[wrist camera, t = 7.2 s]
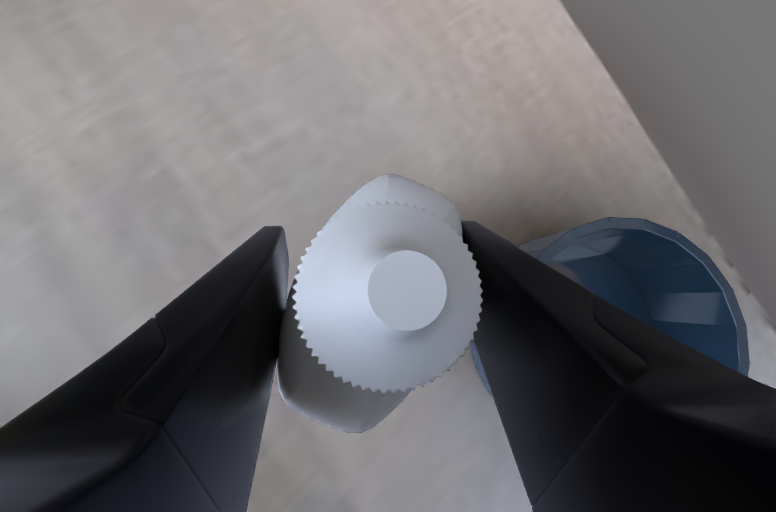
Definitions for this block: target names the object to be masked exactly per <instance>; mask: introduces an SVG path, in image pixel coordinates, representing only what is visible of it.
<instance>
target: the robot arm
mask: <svg viewBox="0 0 776 512" xmlns="http://www.w3.org/2000/svg"><path fill="white" fill-rule="evenodd" d="M461 225H462V235H463V243H465V244H467V245H468V251H469V252H471V253H473V255H472V259H473V260H474V261H476V262H477V263H476V267H475V268H476V269H477V270H479V271H480V272H479V275H478V277H479V278H480V280H481V281H482V282H481V284H480V287H481V289H482V290H483V291H482V293H481V295H480V296H481V298H482V300H483V301H482V303H481V304H480V307H481V309H482V311H481V312H480V313H479V314H478V315H479V317H480V321H479V322H478V323H476V325H477V329H478V330H476V331H475V332H473V337H474V339H473V341H474V344H475V347H476V350H477V352H478V355H479V358H480V361H481V364H482V367H483V370H484V372H485V375H486V378H487V381H488V384H489V387H490V389H491V392H492V395H493V398H494V401H495V404H496V407H497V409H498V412H499V415H500V418H501V421H502V424H503V426H504V429H505V432H506V435H507V438H508V441H509V444H510V446H511V449H512V452H513V455H514V458H515V461H516V463H517V466H518V469H519V472H520V475H521V478H522V481H523V483H524V486H525V489H526V492H527V495H528V498H529V501H530V503H531V505H532V506H533V507H532V510H533V512H776V389H775V388H772V387H770V386H767V385H765V384H762V383H760V382H757V381H755V380H753V379H751V378H749V377H747V376H745V375H743V374H741V373H739V372H737V371H735V370H733V369H731V368H729V367H727V366H726V365H724V364H722V363H720V362H718V361H716V360H714V359H712V358H710V357H708V356H706V355H705V354H703V353H701V352H699V351H697V350H695V349H693V348H691V347H689V346H687V345H686V344H684V343H682V342H680V341H678V340H676V339H674V338H672V337H670V336H668V335H667V334H665V333H663V332H661V331H659V330H657V329H655V328H654V327H652V326H650V325H648V324H646V323H644V322H642V321H641V320H639V319H637V318H635V317H633V316H632V315H630V314H628V313H627V312H625V311H623V310H621V309H620V308H618V307H616V306H615V305H613V304H611V303H610V302H608V301H606V300H605V299H603V298H601V297H600V296H598V295H594V294H593V292H591V291H590V290H588V289H586V288H585V287H583V286H581V285H580V284H578V283H576V282H575V281H573V280H572V279H570V278H568V277H567V276H565V275H563V274H562V273H560V272H558V271H557V270H555V269H553V268H552V267H550V266H548V265H547V264H545V263H543V262H542V261H540V260H538V259H537V258H535V257H533V256H532V255H530V254H529V253H527V252H525V251H524V250H522V249H520V248H519V247H517V246H515V245H514V244H512V243H510V242H509V241H507V240H505V239H504V238H502V237H500V236H499V235H497V234H495V233H494V232H492V231H490V230H489V229H487V228H486V227H484V226H482V225H481V224H479V223H477V222H476V221H461ZM288 269H289V257H288V250H287V244H286V238H285V232H284V229H283V227H282V226H265V227H263V228H262V229H260V230H259V231H258V232H257V233H256V234H254V235H253V236H252V237H251V238H249V239H248V240H247V241H246V242H244V243H243V244H242V245H241V246H240V247H238V248H237V249H236V250H235V251H233V252H232V253H231V254H230V255H228V256H227V257H226V258H225V259H224V260H222V261H221V262H220V263H219V264H217V265H216V266H215V267H214V268H212V269H211V270H210V271H209V272H208V273H206V274H205V275H204V276H203V277H201V278H200V279H199V280H198V281H196V282H195V283H194V284H193V285H192V286H190V287H189V288H188V289H187V290H185V291H184V292H183V293H182V294H181V295H179V296H178V297H177V298H176V299H174V300H173V301H172V302H171V303H169V304H168V305H167V306H166V307H165V308H163V309H162V310H161V311H160V312H158V313H157V314H156V315H155V318H156V319H155V318H151V319H150V320H148V321H147V322H146V323H145V324H143V325H142V326H141V327H140V328H138V329H137V330H136V331H135V332H133V333H132V334H131V335H130V336H128V337H127V338H126V339H124V340H123V341H122V342H121V343H119V344H118V345H117V346H115V347H114V348H113V349H112V350H110V351H109V352H108V353H106V354H105V355H103V356H102V357H101V358H99V359H98V360H97V361H95V362H94V363H92V364H91V365H90V366H88V367H87V368H85V369H84V370H83V371H81V372H80V373H79V374H77V375H76V376H74V377H73V378H71V379H70V380H69V381H67V382H66V383H64V384H63V385H61V386H60V387H59V388H57V389H56V390H54V391H53V392H51V393H50V394H48V395H47V396H46V397H44V398H43V399H41V400H40V401H38V402H37V403H36V404H34V405H33V406H31V407H30V408H28V409H27V410H26V411H24V412H23V413H21V414H20V415H18V416H17V417H16V418H14V419H13V420H11V421H10V422H8V423H7V424H5V425H4V426H3V427H1V428H0V512H246V511H247V506H248V501H249V496H250V491H251V486H252V481H253V476H254V471H255V466H256V461H257V457H258V452H259V447H260V442H261V437H262V432H263V427H264V422H265V417H266V412H267V407H268V402H269V397H270V392H271V387H272V383H273V378H274V373H275V368H276V363H277V358H278V347H279V337H280V330H281V324H282V319H283V314H284V310H285V306H286V300H287V284H288Z"/></svg>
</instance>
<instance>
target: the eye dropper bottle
mask: <svg viewBox="0 0 776 512" xmlns="http://www.w3.org/2000/svg"><path fill="white" fill-rule="evenodd" d="M311 244H312V245H311V246H309V247H307V248H305V250H306V255H304V256H302V257H301V260H302V263H301V264H300V265H299V266H297V268H298V272H297V274H296V276H294V277H295V279H294V281H293V284H292V287H291V290H290V292H289V295H288V299H287V302H286V306H285V310H284V314H283V319H282V324H281V330H280V337H279V347H278V359H277V377H278V388H279V391H280V394H281V396H282V399H283V401H284V402H285V403H286V404H288V405H289V406H290V407H291V408H292V409H293V410H295V411H297V412H299V413H300V414H302V415H304V416H306V417H308V418H311V419H313V420H315V421H317V422H320V423H322V424H325V425H327V426H330V427H332V428H335V429H338V430H341V431H344V432H347V433H362V432H364V431H366V430H369V429H371V428H373V427H374V426H376V425H377V424H378V423H379V422H381V421H382V420H383V419H384V418H386V417H387V416H388V415H389V414H390V413H391V412H392V411H393V410H394V409H395V408H396V407H397V406H398V405H399V404H400V403H401V402H402V401H403V399H404V398H405V397H406V396H407V395H408V394H409V392H410V391H411V390H412V389H413V390H414V389H415V388H416V387H417V385H418V384H419V385H421V386H423V387H424V385H425V384H426V382H427V381H430V382H433V381H434V379H435V377H436V376H439V377H442V374H443V372H444V371H450V367H451V364H457V360H458V357H461V356H463V354H464V349H467V348H469V341H470V340H473V339H474V337H473V332H475V331H476V330H478V329H477V325H476V323H478V322H479V321H480V317H479V315H478V314H479V313H480V312H481V311H482V309H481V307H480V304H481V303H482V301H483V300H482V298H481V296H480V295H481V293H482V291H483V290H482V289H481V287H480V284H481V282H482V281H481V280H480V278H479V277H478V275H479V272H480V271H479V270H477V269H476V268H475V267H476V263H477V262H476V261H474V260H473V259H472V255H473V253H471V252H469V251H468V245H467V244H465V243H463V235H462V225H461V218H460V215H459V212H458V210H457V208H456V205H455V204H454V203H453V202H452V201H451V200H450V199H448V198H447V197H446V196H444V195H442V194H441V193H439V192H437V191H435V190H433V189H431V188H429V187H427V186H425V185H422V184H420V183H418V182H416V181H413V180H411V179H408V178H406V177H403V176H400V175H393V174H385V175H382V176H379V177H376V178H374V179H373V180H371V181H370V182H368V183H367V184H365V185H364V186H363V187H362V188H360V189H359V190H358V191H357V192H356V193H354V194H353V195H352V196H351V197H350V198H349V199H348V200H347V201H346V202H345V203H344V204H343V205H342V206H341V207H340V208H339V209H338V210H337V211H336V212H335V213H334V214H333V216H332V217H331V218H330V219H329V220H328V222H327V223H326V224H325V225H324V227H323V228H322V230H321V231H319V232H317V237H316V238H315V239H311Z"/></svg>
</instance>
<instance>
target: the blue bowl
mask: <svg viewBox="0 0 776 512" xmlns="http://www.w3.org/2000/svg"><path fill="white" fill-rule="evenodd" d="M518 247H519V248H520V249H522V250H524V251H525V252H527V253H529V254H530V255H532V256H533V257H535V258H537V259H538V260H540V261H542V262H543V263H545V264H547V265H548V266H550V267H552V268H553V269H555V270H557V271H558V272H560V273H562V274H563V275H565V276H567V277H568V278H570V279H572V280H573V281H575V282H576V283H578V284H580V285H581V286H583V287H585V288H586V289H588V290H590V291H591V292H593V294H594V295H598V296H600V297H601V298H603V299H605V300H606V301H608V302H610V303H611V304H613V305H615V306H616V307H618V308H620V309H621V310H623V311H625V312H627V313H628V314H630V315H632V316H633V317H635V318H637V319H639V320H641V321H642V322H644V323H646V324H648V325H650V326H652V327H654V328H655V329H657V330H659V331H661V332H663V333H665V334H667V335H668V336H670V337H672V338H674V339H676V340H678V341H680V342H682V343H684V344H686V345H687V346H689V347H691V348H693V349H695V350H697V351H699V352H701V353H703V354H705V355H706V356H708V357H710V358H712V359H714V360H716V361H718V362H720V363H722V364H724V365H726V366H727V367H729V368H731V369H733V370H735V371H737V372H739V373H741V374H743V375H745V376H747V377H748V371H749V364H750V361H749V350H748V339H747V328H746V323H745V320H744V318H743V315H742V312H741V310H740V307H739V305H738V302H737V299H736V297H735V294H734V291H733V289H732V288H731V286H730V284H729V283H728V281H727V280H726V279H725V277H724V276H723V275H722V273H721V272H720V270H719V269H718V268H717V266H716V265H715V264H714V262H713V261H712V259H711V258H710V257H709V256H708V255H707V254H706V253H705V252H703V251H702V250H701V249H700V248H698V247H697V246H696V245H694V244H693V243H692V242H691V241H689V240H688V239H687V238H686V237H684V236H683V235H682V234H680V233H678V232H677V231H674V230H672V229H669V228H666V227H664V226H661V225H659V224H656V223H653V222H651V221H648V220H646V219H638V218H616V217H608V218H603V219H600V220H596V221H593V222H590V223H586V224H583V225H580V226H576V227H573V228H570V229H567V230H563V231H560V232H557V233H554V234H551V235H547V236H544V237H541V238H538V239H535V240H532V241H528V242H525V243H523V244H522V245H520V246H518ZM470 344H471V350H472V356H473V359H474V362H475V366H476V369H477V371H478V373H479V376H480V378H481V380H482V382H483V384H484V385H485V387H486V389H487V390H488V392H489V393H490V395H491V396H492V397H493V395H492V392H491V389H490V387H489V384H488V381H487V378H486V375H485V372H484V370H483V367H482V364H481V361H480V358H479V355H478V352H477V350H476V347H475V344H474V341H473V340H470Z"/></svg>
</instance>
